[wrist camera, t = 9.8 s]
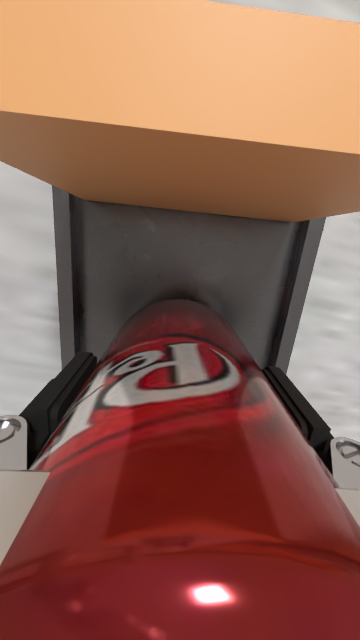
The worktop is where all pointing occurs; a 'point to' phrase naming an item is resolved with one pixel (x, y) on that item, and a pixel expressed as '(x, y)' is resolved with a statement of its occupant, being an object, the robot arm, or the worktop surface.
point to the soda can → (181, 503)
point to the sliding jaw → (183, 105)
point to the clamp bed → (179, 271)
